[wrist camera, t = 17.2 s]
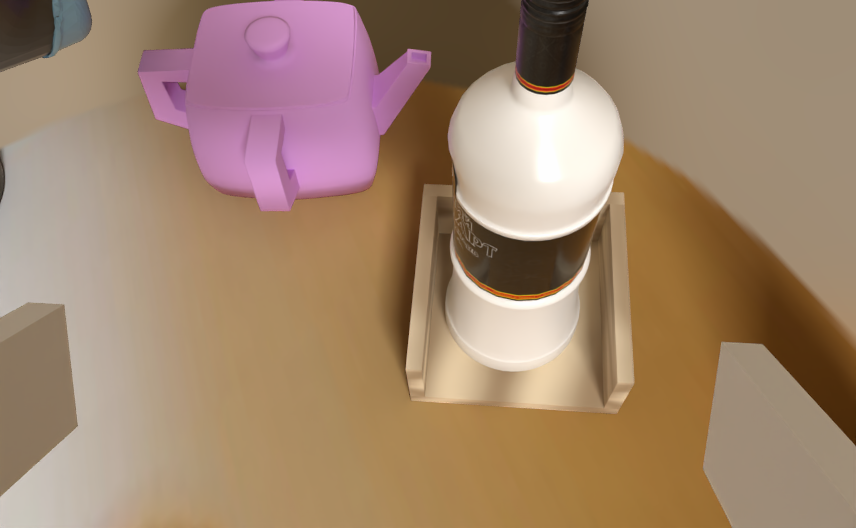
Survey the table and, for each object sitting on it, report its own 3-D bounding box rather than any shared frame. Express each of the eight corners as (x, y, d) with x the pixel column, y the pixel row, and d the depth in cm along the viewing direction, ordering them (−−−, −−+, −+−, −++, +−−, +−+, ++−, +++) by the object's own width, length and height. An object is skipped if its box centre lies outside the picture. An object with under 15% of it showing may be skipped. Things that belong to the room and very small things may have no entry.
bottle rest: (411, 400, 52) (405, 369, 47) (427, 228, 59) (424, 183, 53) (616, 413, 51) (634, 383, 46) (608, 237, 58) (623, 192, 52)
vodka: (563, 390, 51) (674, 81, 25) (431, 360, 52) (402, 37, 26) (585, 273, 55) (698, -97, 29) (462, 248, 57) (464, -126, 30)
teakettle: (159, 146, 64) (98, 37, 53) (308, 37, 69) (281, -82, 59) (290, 265, 58) (251, 169, 47) (442, 136, 63) (439, 23, 52)
